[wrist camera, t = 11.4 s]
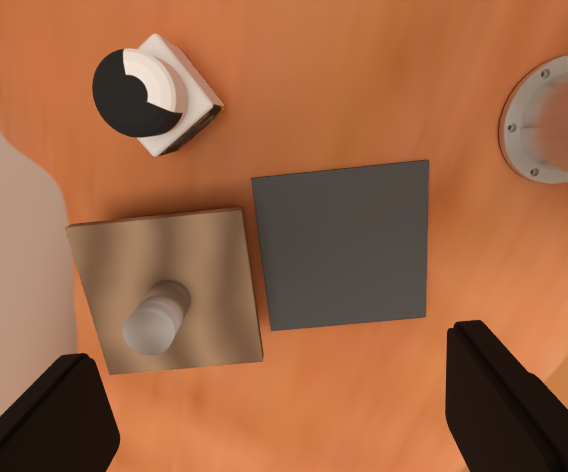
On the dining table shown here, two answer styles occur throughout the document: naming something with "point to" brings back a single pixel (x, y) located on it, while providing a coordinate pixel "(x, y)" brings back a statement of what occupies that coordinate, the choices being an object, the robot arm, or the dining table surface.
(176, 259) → the walnut lid
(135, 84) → the medicine bottle
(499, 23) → the dining table surface
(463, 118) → the dining table surface
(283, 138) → the dining table surface
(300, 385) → the dining table surface
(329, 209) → the rubber mat
